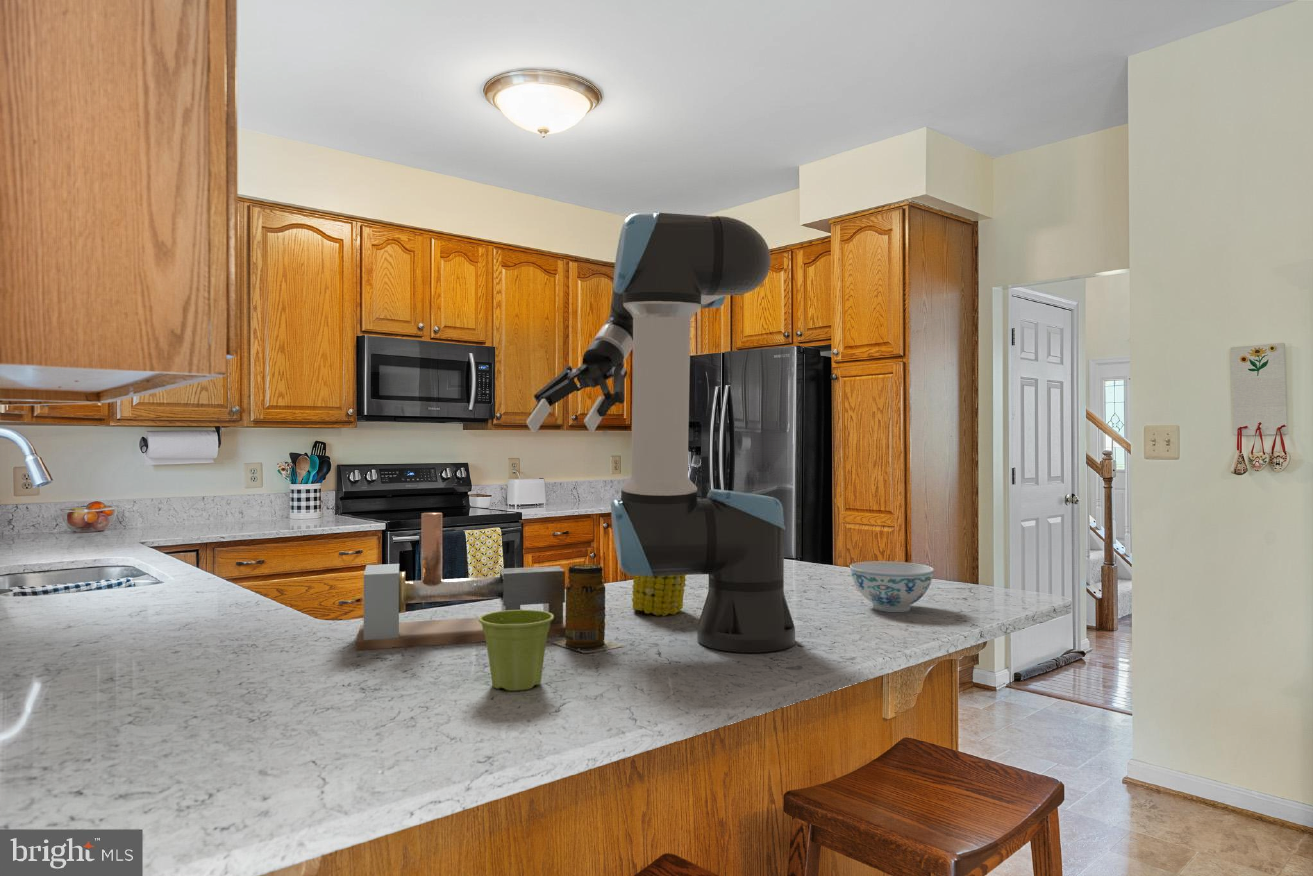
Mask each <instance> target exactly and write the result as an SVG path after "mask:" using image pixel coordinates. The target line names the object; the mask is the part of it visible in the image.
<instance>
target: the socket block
mask: <svg viewBox="0 0 1313 876" xmlns="http://www.w3.org/2000/svg"><path fill="white" fill-rule="evenodd" d="M399 572H400V563H388V564H366V566H365V569H364V573H363V625H364V639H363V640H374V639H389V638H399V622H400V613H399Z"/></svg>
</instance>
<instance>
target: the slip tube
mask: <svg viewBox="0 0 1313 876" xmlns="http://www.w3.org/2000/svg"><path fill="white" fill-rule="evenodd" d="M420 530H421V531H420V532H421V548H420V549H421V550H420V551H421V556H420V557H421V563H420V565H421V569H420V570H421V573H420V575H421V580H406V578H407V577H406V571H399V614H403V613H404V614H406V604H409V603H410V604H411V603H412V604H413V603H415V604H416V603H428V602H429V603H431V602H447V601H466V600H468V601H469V600H483V599H484V600H486V599H487V600H488V599H500V598H503V577H500V576H486V577H485V576H484V577H483V576H482V577H465V578H446V579H445V578H444V579H443V513H442V512H423V513H421V529H420Z"/></svg>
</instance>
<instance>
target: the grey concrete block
mask: <svg viewBox="0 0 1313 876" xmlns="http://www.w3.org/2000/svg"><path fill="white" fill-rule="evenodd" d="M499 577H503V598H499V601H500V603H501V611H506V610H521V606H526V605H528V606H529V605H543V606H542V607H543V610H542V611H545V612H549V613H551V614H553V615H554V619H553V620H552V621H551V622H550V624H560V623H563V618H564V604H565V603H566V570H565V569H563V568H562V567H561V566H560V565H557V566H556V565H555V566H552V565H551V566H535V567H532V566H531V567H507V568H499Z"/></svg>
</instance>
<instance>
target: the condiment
mask: <svg viewBox="0 0 1313 876" xmlns="http://www.w3.org/2000/svg"><path fill="white" fill-rule="evenodd" d="M603 570H604V569H603V567H602V566H601V565H600V564H594V563H593V564H592V563H591V564H590V563H580V564H572V565H570V566H569V567H568V572H567V573H568V576H567V580H568V582H567V584H565V618H564V619H565V620H566V621H565V623H566V624H565V639H564V640H558V641H553V642H552V643H553V644H556V645H558V646H560V647H563V648H566V649H571V650H573V651H576V652H581V653H583V654H584V653H585V654H586V653H587V654H589V653H595V652H602V651H603V652H604V651H609V650H611V649H618V648H620V647H623V645H622V644H618V643H617V642H612V641H609V640H608V641H607V640H605V636H606V635H605V634H606V632H605V631H606V586H605V584H604V581H603V579H604V577H603Z"/></svg>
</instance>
